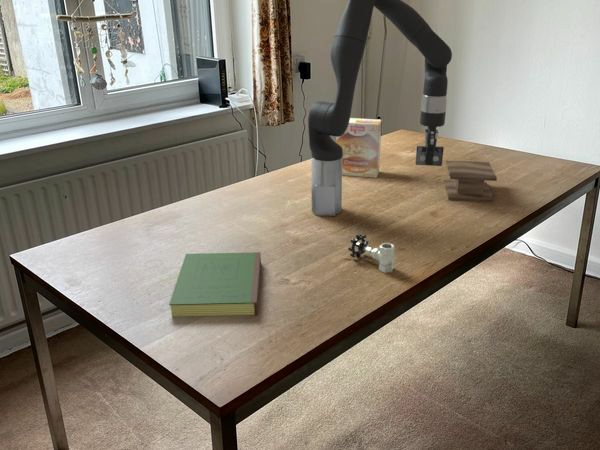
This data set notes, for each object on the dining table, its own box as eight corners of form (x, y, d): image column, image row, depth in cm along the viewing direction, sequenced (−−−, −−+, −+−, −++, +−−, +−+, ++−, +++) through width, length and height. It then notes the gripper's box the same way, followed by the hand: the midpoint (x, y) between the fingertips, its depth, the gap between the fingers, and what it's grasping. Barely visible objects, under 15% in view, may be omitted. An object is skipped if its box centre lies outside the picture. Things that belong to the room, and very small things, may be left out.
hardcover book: (257, 317, 130) (256, 302, 129) (170, 319, 130) (169, 304, 128) (261, 264, 153) (260, 251, 152) (187, 265, 153) (186, 252, 151)
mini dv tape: (441, 164, 191) (443, 146, 189) (441, 166, 189) (443, 147, 187) (415, 163, 192) (416, 145, 190) (415, 164, 191) (417, 146, 188)
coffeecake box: (335, 175, 214) (336, 121, 206) (338, 169, 221) (339, 116, 213) (377, 178, 211) (379, 123, 203) (379, 171, 217) (382, 118, 209)
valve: (401, 268, 150) (365, 252, 158) (402, 244, 147) (366, 229, 155) (383, 277, 145) (347, 260, 154) (385, 252, 143) (348, 237, 151)
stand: (493, 201, 189) (496, 177, 186) (448, 199, 191) (450, 176, 188) (486, 184, 204) (488, 162, 201) (444, 182, 206) (446, 160, 202)
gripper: (447, 114, 177) (442, 170, 184) (444, 105, 190) (439, 157, 196) (421, 113, 178) (417, 169, 185) (420, 104, 191) (416, 157, 197)
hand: (428, 163), depth 191 cm, fingers closed on mini dv tape, 1 cm apart
